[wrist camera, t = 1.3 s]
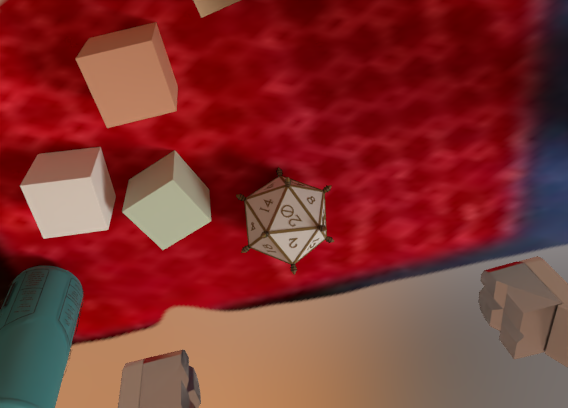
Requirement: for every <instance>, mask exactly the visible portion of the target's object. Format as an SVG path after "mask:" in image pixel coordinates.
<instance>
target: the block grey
mask: <svg viewBox="0 0 568 408" xmlns="http://www.w3.org/2000/svg"><path fill="white" fill-rule="evenodd" d="M20 187H21V189H22V192H23V194H24V196H25V198H26V201H27V203H28V205H29V207H30V210H31V212H32V214H33V216H34V218H35V221H36V223H37V225H38V227H39V230H40V232H41V234H42V236H43V239H45V238H52V237H59V236H67V235H74V234H81V233H89V232H96V231H103V230H108V229H109V224H110V220H111V216H112V212H113V207H114V203H115V199H116V195H115V192H114V188H113V185H112V182H111V179H110V175H109V172H108V169H107V166H106V162H105V159H104V156H103V153H102V150H101V147H94V148H86V149H77V150H68V151H60V152H51V153H43V154H38V155H37V156H36V158H35V160H34V162H33V163H32V165H31V167H30V169H29V171H28V172H27V174H26V176H25V178H24V179H23V181H22V183H21V185H20Z"/></svg>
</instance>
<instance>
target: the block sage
mask: <svg viewBox="0 0 568 408" xmlns="http://www.w3.org/2000/svg"><path fill="white" fill-rule="evenodd" d="M122 212H123V213H124V214H125V215H126V216H127V217H128V218H129V219H130V220H131V221H132V222H133V223H134V224H136V225H137V226H138V227H139V228H140V229H141V230H142V231H143V232H144V233H145V234H146V235H147V236H148V237H150V238H151V239H152V240H153V241H154V242H155V243H156V244H157V245H158V246H159V247H160V248H161V249H162V250H164V249H166V248H167V247H169V246H171V245H172V244H174V243H176V242H177V241H179V240H181V239H182V238H184V237H186V236H187V235H189V234H191V233H192V232H194V231H196V230H197V229H199V228H201V227H202V226H204V225H206V224H207V223H209V222H211V209H210V194H209V189H208V188H207V186H206V185H205V184H204V183H203V182H202V181H201V180H200V178H199V177H198V176H197V175H196V174H195V173H194V172H193V170H192V169H191V168H190V167H189V166H188V165H187V164H186V162H185V161H184V160H183V159H182V158H181V157H180V156H179V154H178V153H177V152H176V151H175V150H174V151H173V152H171V153H169V154H168V155H166V156H165V157H163V158H162V159H160V160H159V161H157V162H156V163H154V164H152V165H151V166H149V167H148V168H146V169H145V170H143V171H142V172H140V173H139V174H137V175H135V176H134V177H132V178H131V179H129V181H128V186H127V190H126V195H125V200H124V205H123V210H122Z"/></svg>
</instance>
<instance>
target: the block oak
mask: <svg viewBox="0 0 568 408" xmlns="http://www.w3.org/2000/svg"><path fill="white" fill-rule="evenodd" d="M193 1H194V3H195V5H196V7H197V9H198V11H199V13H200V16H201V18H202V17H205V16H207V15H209V14H211V13H213V12H216V11H218V10H220V9H222V8H225V7H227V6H229V5H231V4H233V3H236V2H238V1H240V0H193Z"/></svg>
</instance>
